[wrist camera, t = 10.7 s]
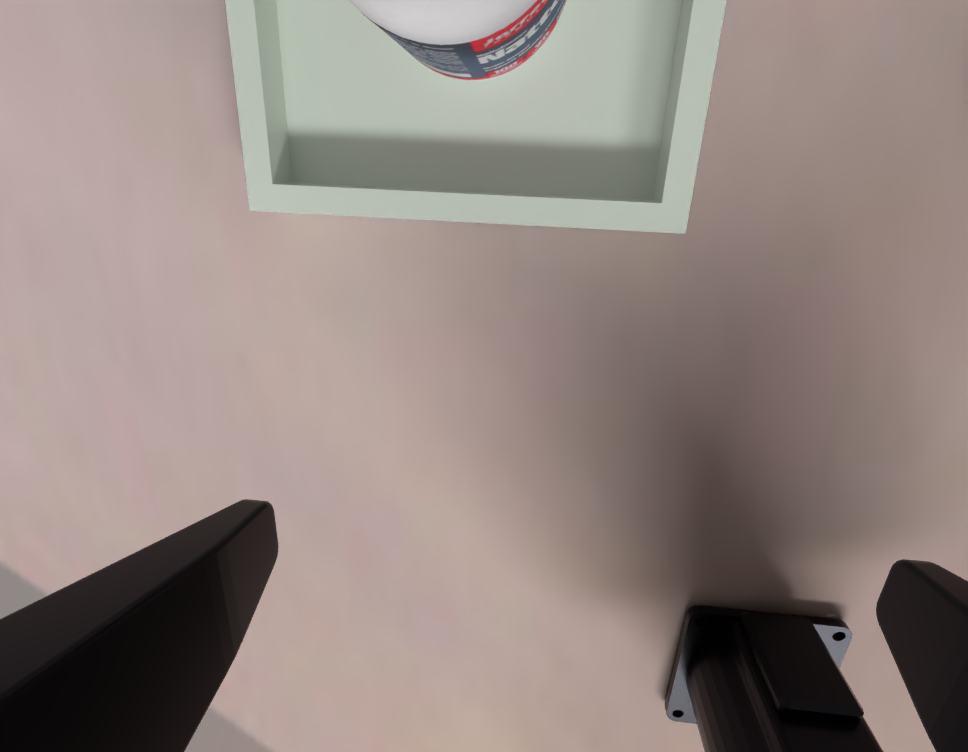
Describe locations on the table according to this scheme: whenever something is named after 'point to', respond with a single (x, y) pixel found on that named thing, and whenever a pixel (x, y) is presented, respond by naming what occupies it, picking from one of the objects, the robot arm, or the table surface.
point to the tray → (477, 118)
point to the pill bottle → (466, 32)
